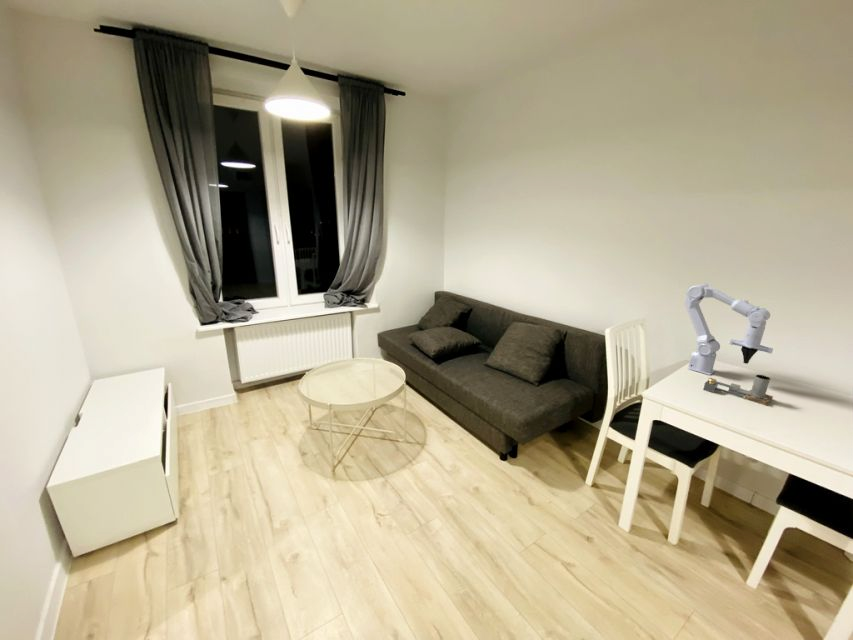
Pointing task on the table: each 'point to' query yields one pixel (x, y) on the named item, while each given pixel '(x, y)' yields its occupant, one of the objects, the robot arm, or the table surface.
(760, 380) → the planter
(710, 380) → the brass knob
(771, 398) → the frame
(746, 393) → the grey notched block
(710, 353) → the robot arm
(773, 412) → the table surface
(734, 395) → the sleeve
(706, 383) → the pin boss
